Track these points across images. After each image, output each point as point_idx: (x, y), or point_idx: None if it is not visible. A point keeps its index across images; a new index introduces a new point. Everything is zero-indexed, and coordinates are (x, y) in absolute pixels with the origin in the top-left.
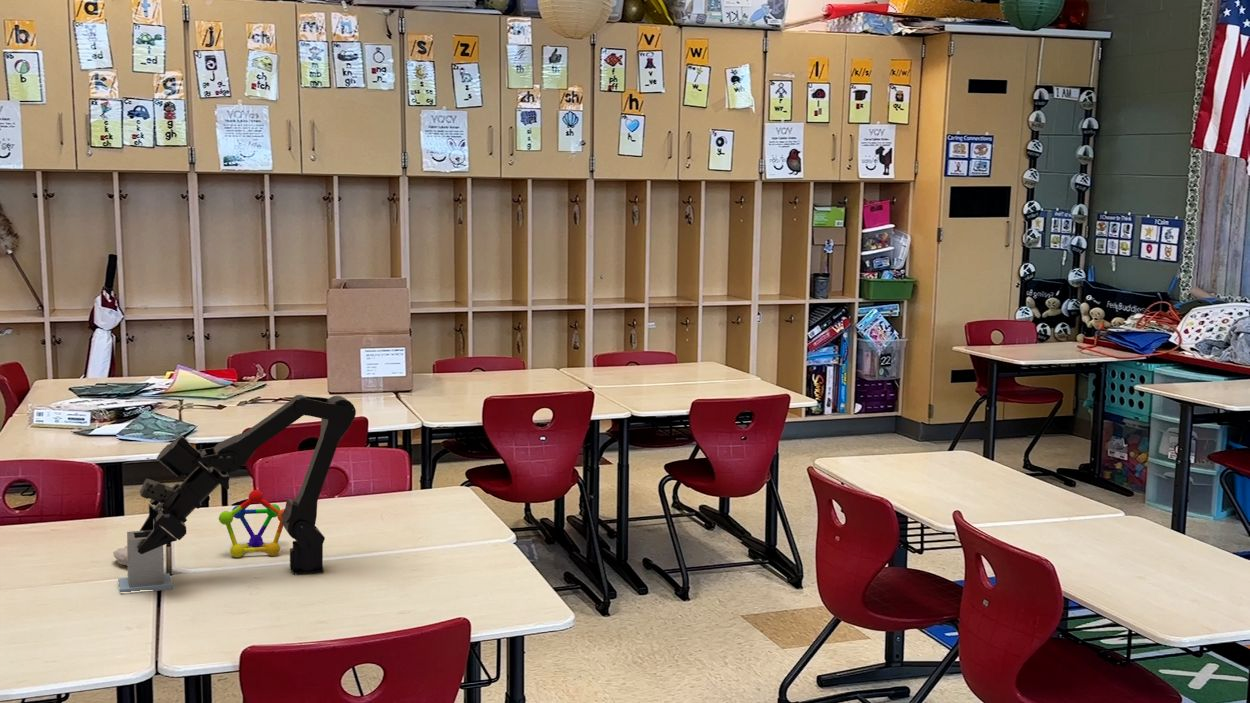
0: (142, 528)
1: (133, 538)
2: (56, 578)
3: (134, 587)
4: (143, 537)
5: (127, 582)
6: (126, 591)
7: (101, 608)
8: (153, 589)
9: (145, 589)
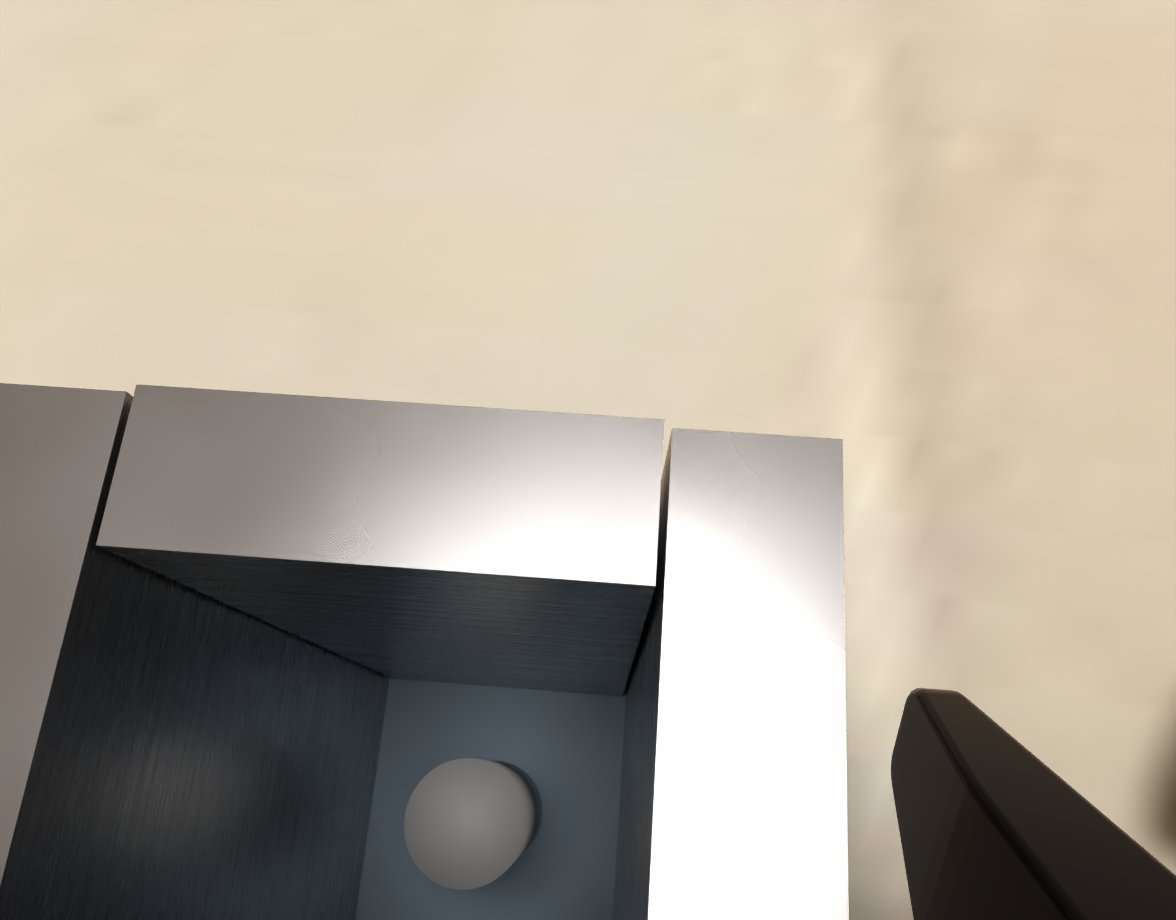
0: (1062, 917)
1: (61, 502)
2: (1070, 81)
3: None
4: (13, 782)
5: None
6: None
7: (7, 323)
8: None
9: None
